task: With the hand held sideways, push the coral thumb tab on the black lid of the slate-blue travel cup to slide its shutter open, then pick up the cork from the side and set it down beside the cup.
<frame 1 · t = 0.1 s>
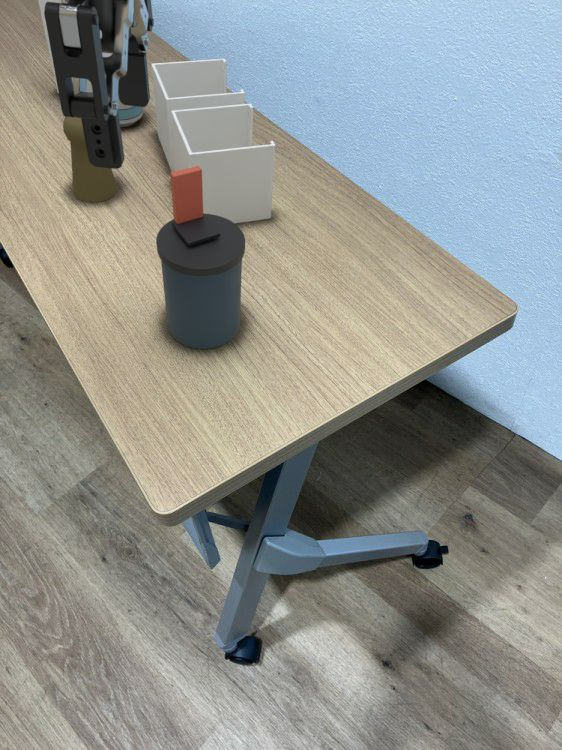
hand: (122, 132, 44), 28 cm above the table, tool pointing down, fingers open, 8 cm apart
storage container: (210, 175, 92), on the table
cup: (92, 93, 105), on the table
beverage can: (121, 120, 100), on the table
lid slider: (194, 205, 61), point 15 cm above the table, slide at 0.0 cm
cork: (95, 191, 87), on the table
travel cup: (203, 322, 72), on the table
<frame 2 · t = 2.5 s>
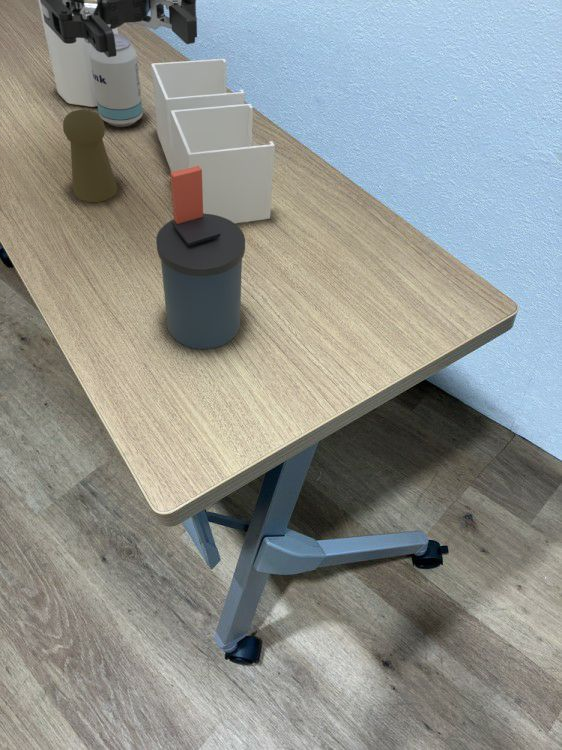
hand: (152, 38, 55), 28 cm above the table, tool horizontal, fingers open, 7 cm apart
nothing on the table moved.
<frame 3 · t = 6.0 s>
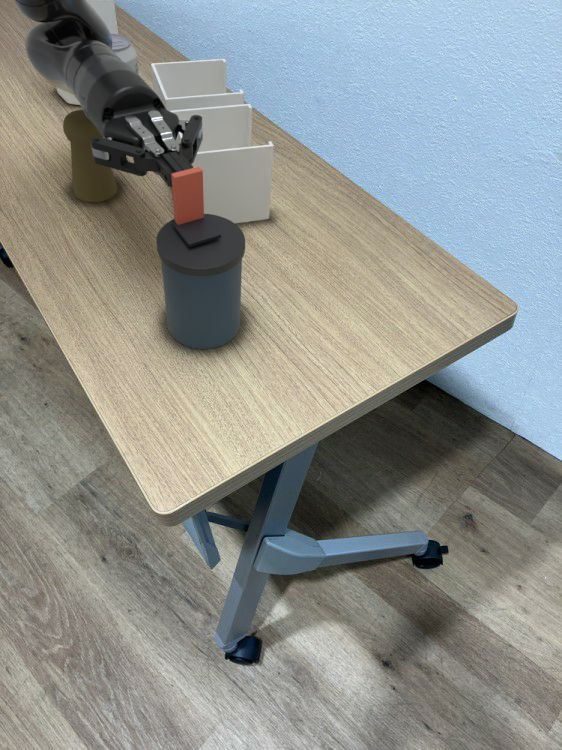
hand: (185, 181, 60), 17 cm above the table, tool horizontal, fingers closed
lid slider: (195, 206, 61), point 15 cm above the table, slide at 0.2 cm, touching gripper
everything else where it was.
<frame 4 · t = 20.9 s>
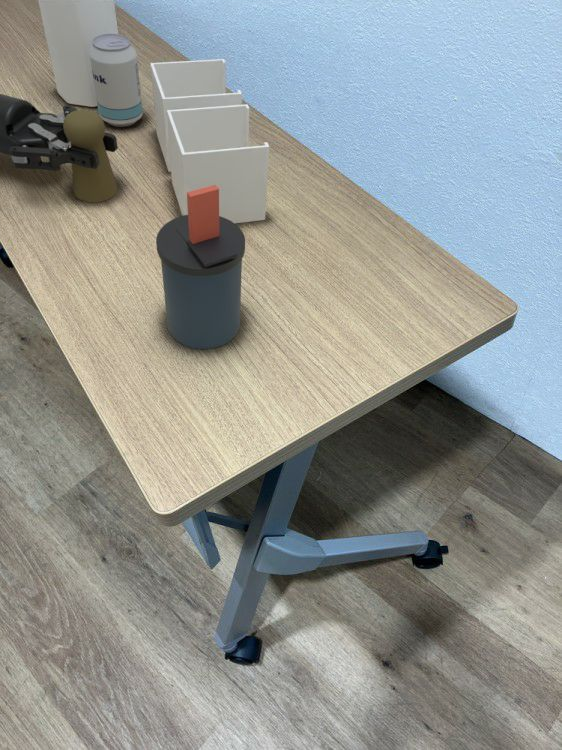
hand: (106, 152, 82), 6 cm above the table, tool horizontal, fingers closed on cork, 4 cm apart
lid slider: (211, 226, 59), point 15 cm above the table, slide at 3.6 cm
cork: (95, 190, 87), on the table, touching gripper
everything else where it was.
when the fingers open (7 cm above the table, at t = 28.1 s): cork stays where it is, on the table.
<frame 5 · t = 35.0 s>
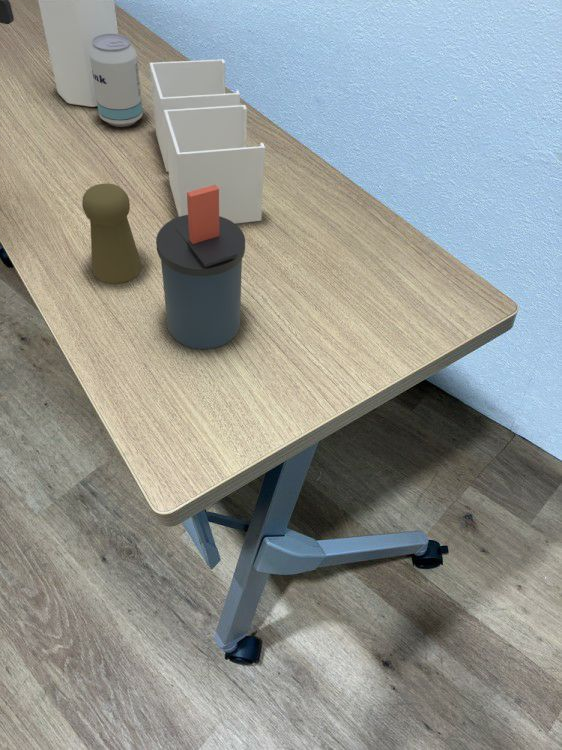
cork: (117, 268, 77), on the table
everything else where it was.
at the end: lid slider slide at 3.6 cm; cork inside the target area on the table beside the travel cup (0.1 cm from its centre), on the table; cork tilted 0° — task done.
